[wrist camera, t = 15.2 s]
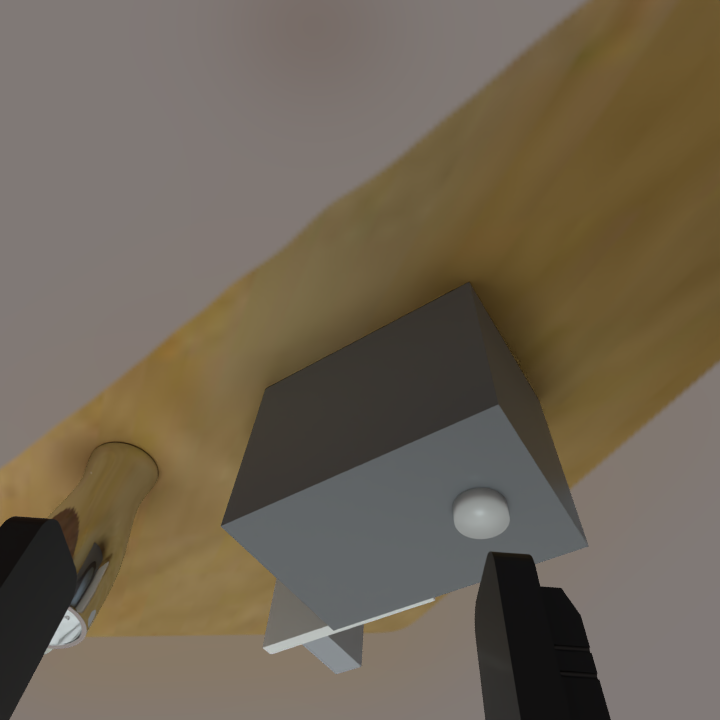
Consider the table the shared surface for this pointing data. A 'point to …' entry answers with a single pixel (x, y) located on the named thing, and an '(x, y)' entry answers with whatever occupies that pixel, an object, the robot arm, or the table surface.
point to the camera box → (401, 468)
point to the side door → (315, 631)
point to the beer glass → (100, 529)
